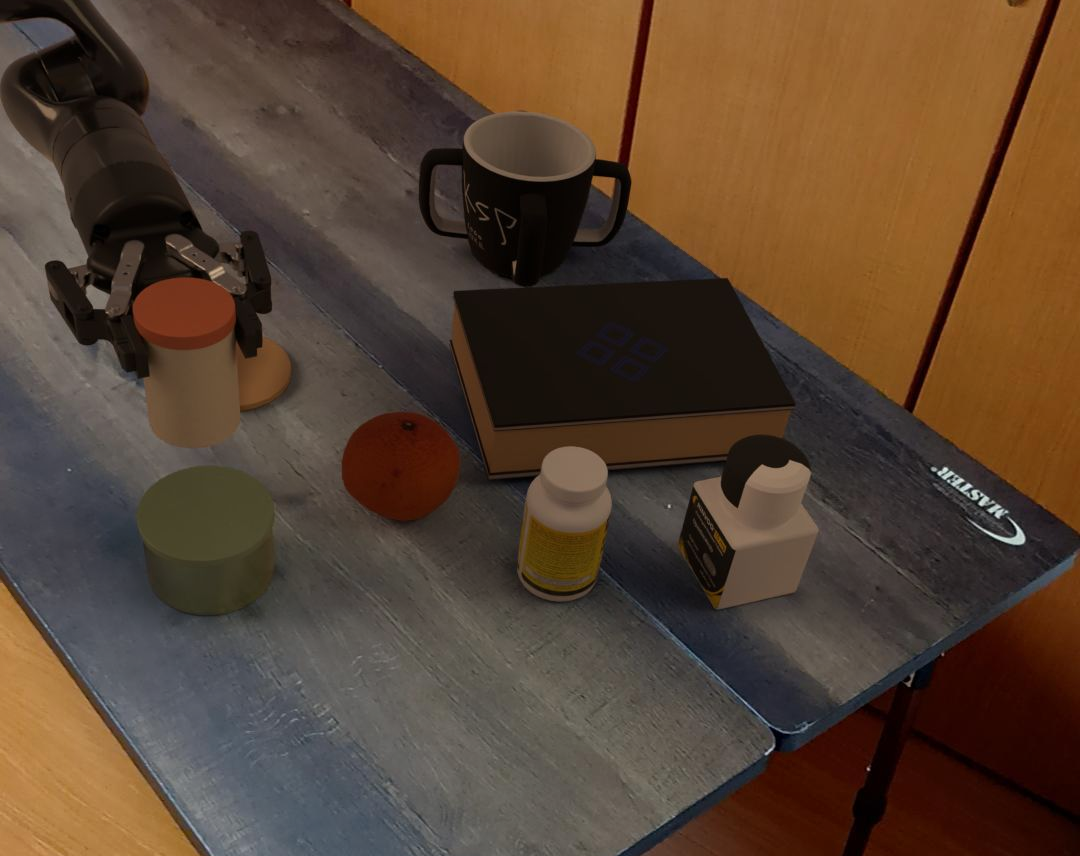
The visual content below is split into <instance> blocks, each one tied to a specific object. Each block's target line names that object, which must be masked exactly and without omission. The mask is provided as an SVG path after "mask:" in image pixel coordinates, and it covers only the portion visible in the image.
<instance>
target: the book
mask: <svg viewBox="0 0 1080 856" xmlns="http://www.w3.org/2000/svg"><path fill="white" fill-rule="evenodd" d="M452 294H453V295H452V299H453V302H454V304H453V317H452V330H451V339H449V343H448V346H449V349H450V353H451V356H452V359H453V364H454V366H455V369H456V372H457V377H458V381H459V383H460V387H461V391H462V393H463V397H464V401H465V404H466V408H467V411H468V415H469V418H470V422H471V425H472V428H473V431H474V432H473V433H474V435H475V439H476V443H477V445H478V450H479V452H480V456H481V459H482V463H483V466H484V470H485V473H486V476H487V480H488V481H495V480H506V479H507V480H509V479H519V478H532V477H537V476H539V475H540V473H541V467H542V463H543V460H544V458H545V457H546V456H547V455H548V454H549V453H550V452H551V451H553V450H555V449H558V448H561V447H568V446H573V447H581V448H584V449H587V450H590V451H592V452H594V453H595V454H597V455H598V456H599V457H600V458H601V459H602V460H603V461H604V463H605V464H606V466H607V470H608V471H618V470H629V469H630V470H631V469H642V468H653V467H666V466H667V467H668V466H678V465H679V466H680V465H691V464H692V465H693V464H702V463H714V462H715V463H717V462H726V460H727V456H728V453H729V450H730V448H731V447H732V446H733V444H734V443H736V442H737V441H739V440H741V439H743V438H745V437H748V436H752V435H771V436H776V437H780V438H782V439H784V438H783V437H784V435H785V431H786V428H787V425H788V422H789V419H790V417H791V413H792V411H794V410H795V408H796V406H797V403H796V401H795V399H794V398H793V396H792V394H791V391H790V390H789V388H788V387H787V385H786V383H785V381H784V379H783V377H782V375H781V373H780V372H779V370H778V368H777V366H776V364H775V362H774V361H773V359H772V357H771V355H770V353H769V351H768V349H767V347H766V346H765V343H764V342H763V340H762V338H761V337H760V335H759V333H758V330H757V329H756V327H755V325H754V324H753V322H752V320H751V318H750V316H749V315H748V312H747V311H746V309H745V307H744V305H743V303H742V302H741V299H740V298H739V296H738V294H737V292H736V290H735V289H734V287H733V285H732V283H731V281H730V279H729V278H728V277H720V278H719V277H718V278H717V277H715V278H697V279H695V278H694V279H676V280H675V279H674V280H657V281H654V280H653V281H636V282H635V281H634V282H612V283H611V282H609V283H593V284H592V283H590V284H588V283H587V284H571V285H569V284H568V285H548V286H547V285H546V286H531V287H505V288H503V287H502V288H487V289H486V288H485V289H484V288H483V289H463V290H453V292H452Z"/></svg>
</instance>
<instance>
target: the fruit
mask: <svg viewBox="0 0 1080 856" xmlns="http://www.w3.org/2000/svg"><path fill="white" fill-rule="evenodd" d="M460 472H461V455H460V450H459V448H458V446H457V444H456V443H455V441H454V440H453V438H452V437H451V436H450V434H449V432H447V430H446V429H445V428H444V427H443V426H442V425H441V424H439V423H438V422H437V421H435V420H434V419H432V418H430V417H428V416H426V415H423V414H422V413H418V412H412V411H396V412H385V413H381V414H379V415H376V416H374V417H373V418H370V419H368V420H367V421H365V422H363V423H362V424H360V425H359V426H358V427H357V428H356V429H355V430H354V432H352V434H351V435H350V436H349V439H348V441H347V443H346V445H345V448H344V450H343V452H342V458H341V479H342V482H343V486H344V488H345V490H346V491H347V492H348V494H349V495H350V496H351V497H352V498H353V499H354V500H356V502H358V503H359V504H360V505H361V506H363V507H364V508H365V509H366V510H368V511H370V512H371V513H372V512H373V513H374V514H377V515H379V516H381V517H383V518H386V519H391V520H396V521H411V520H412V521H413V520H419V519H421V518H425V517H426V516H428V515H429V514H431V513H433V512H434V511H436V510H437V509H439V508H440V507H441V506H442V505H443V504H445V502H446V501H447V500H448V499H449V497H450V496H451V495H452V492H453V491H454V489H455V486H456V484H457V481H458V478H459V476H460Z"/></svg>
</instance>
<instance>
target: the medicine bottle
mask: <svg viewBox="0 0 1080 856" xmlns="http://www.w3.org/2000/svg"><path fill="white" fill-rule="evenodd" d="M810 463H811V462H810V461H809V460H808V458H807V456H806V455H805V453H804V452H803V451H802V449H800V448H799V447H798V446H797V445H795V444H794V443H792V442H791V441H789V440H787V439H784V438H780V437H776V436H771V435H752V436H748V437H745V438H743V439H741V440H739V441H737V442H736V443H734V444H733V446H732V447H731V448H730V450H729V453H728V456H727V460H726V461H725V463H724V466H723V471H722V473H721V476H718V477H712V478H707V479H702V480H698V481H695V482H694V483H693V486H692V488H691V493H690V497H689V501H688V503H687V508H686V511H685V516H684V518H683V523H682V527H681V529H680V534H679V538H678V541H677V546H678V549H679V552H681V554H682V556H683V558H684V559H685V561H686V562H687V565H688V567H689V568H690V570H691V571H692V573H693V574H694V577H695V578H696V580H697V581H698V583H699V585H700V586H701V589H702V590H703V591H704V593H705V595H706V597H707V599H708V600H709V602H710V604H711V605H712V607H713V608H714V609H715V610H717V611H719V610H723V609H724V610H725V609H727V608H732V607H736V606H737V607H738V606H742V605H745V604H750V603H755V602H759V601H763V600H767V599H773V598H777V597H781V596H786V595H789V594H793V593H796V592H797V590H798V587H799V584H800V581H801V579H802V576H803V573H804V571H805V568H806V566H807V563H808V560H809V558H810V555H811V552H812V550H813V547H814V546H815V545H814V544H815V542H816V539H817V537H818V533H819V527H818V526H817V524H816V523H815V521H814V520H813V518H812V517H811V515H810V514H809V513H808V511H807V509H806V508H805V507H804V505H803V504H802V502H803V499H804V496H805V493H806V491H807V487H808V485H809V482H810V479H811V476H812V467H811V464H810Z"/></svg>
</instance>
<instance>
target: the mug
mask: <svg viewBox="0 0 1080 856" xmlns="http://www.w3.org/2000/svg"><path fill="white" fill-rule="evenodd" d="M419 165H420V166H419V177H418V205H419V210H420V214H421V217H422V219H423V221H424V223H425V225H426V226H427V228H428V229H429V230H430V232H432V233H433V234H435V235H438V236H440V237H446V238H455V239H462V240H463V239H464V240H467V241H468V244H469V245H468V246H469V248H470V251H471V253H472V255H473V257H474V258H475V260H476V261H477V262H478V263H479V264H480V265H481V266H482V267H484V268H486V269H487V270H490V271H491V272H492V273H495V274H498V275H501V276H505V277H509V278H512V282H513V283H514V284H515V285H516V286H519V287H521V288H524V287H535V286H536V285H537V284H538V283H539V280H540V277H543V276H547V275H549V274H551V273H553V272H554V271H556V270H557V269H559V267H561V266H562V264H563V263H564V262H565V260H566V258H567V256H568V255H569V253H570V251H571V248H572V247H577V248H578V247H580V248H598V247H603V246H605V245H607V244H609V243H610V242H611V241H612V240H613V239H614V238H615V237H616V236H617V234H618V233H619V231H621V228H622V226H623V224H624V221H625V219H626V216H627V210H628V207H629V201H630V195H631V190H632V189H631V188H632V183H633V182H632V176H631V173H630V170H629V169H628V167H627V166H626V165H625V164H624V163H622V162H619V161H613V160H606V159H601V158H600V159H599V158H597V149H596V147H595V144H594V141H593V140H592V139H591V138H590V136H589V135H588V134H587V133H586V132H585V131H583V130H582V129H581V128H579V127H578V126H576V125H574V124H573V123H571V122H568V121H566V120H564V119H562V118H559V117H556V116H554V115H550V114H546V113H540V112H534V111H528V110H515V111H514V110H513V111H501V112H498V113H492V114H489V115H485V116H484V117H481V118H480V119H478V120H476V121H474V122H473V123H471V125H469V126H468V128H467V129H466V131H465V132H464V134H463V141H462V148H459V147H458V148H456V147H450V148H449V147H445V148H442V147H441V148H432V149H429V150H428V151H426V153H425V155H424V156H423V157H422V159H421V162H420V164H419ZM438 166H453V167H456V166H457V167H458V166H459V167H461V194H462V195H461V196H462V205H463V216H464V220H458V219H450V218H443V217H441V216H440V214H439V213H438V211H437V209H436V202H435V191H436V188H435V186H436V174H437V167H438ZM594 177H600V178H612V179H614V180H615V181H614V192H613V197H612V201H611V206H610V210H609V214H608V217H607V218H606V220H605V222H604V223H603V224H602V226H600V227H598V228H593V229H592V228H591V229H589V228H588V229H587V228H580V225H581V222H582V220H583V219H582V218H583V215H584V213H585V209H586V207H587V203H588V199H589V194H590V191H591V187H592V183H593V178H594Z"/></svg>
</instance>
